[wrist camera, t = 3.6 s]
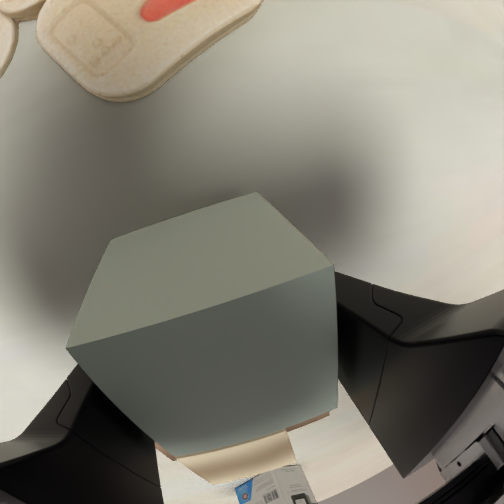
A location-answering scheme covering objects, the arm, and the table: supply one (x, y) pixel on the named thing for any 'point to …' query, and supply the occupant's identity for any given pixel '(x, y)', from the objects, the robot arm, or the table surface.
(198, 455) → the build board
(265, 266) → the sage cube
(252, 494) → the ink box
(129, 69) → the alphabet tiles
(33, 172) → the table surface
